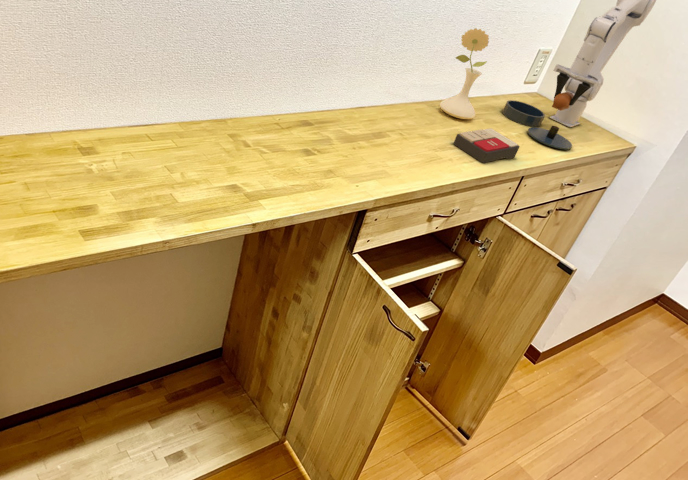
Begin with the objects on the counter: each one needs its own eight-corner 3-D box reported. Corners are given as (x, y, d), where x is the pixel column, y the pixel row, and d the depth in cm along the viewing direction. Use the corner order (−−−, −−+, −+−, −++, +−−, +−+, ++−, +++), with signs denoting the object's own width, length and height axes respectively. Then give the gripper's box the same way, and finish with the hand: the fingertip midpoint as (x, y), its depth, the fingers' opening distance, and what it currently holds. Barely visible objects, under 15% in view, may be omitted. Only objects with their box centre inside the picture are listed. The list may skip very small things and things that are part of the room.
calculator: (457, 131, 155) (491, 125, 163) (451, 145, 158) (485, 139, 166) (487, 150, 149) (521, 143, 157) (481, 165, 151) (515, 157, 159)
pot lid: (537, 127, 187) (544, 115, 184) (576, 147, 180) (584, 134, 177) (519, 133, 178) (526, 120, 175) (560, 154, 171) (567, 140, 168)
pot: (512, 108, 198) (517, 98, 196) (545, 124, 192) (551, 114, 190) (495, 112, 190) (500, 102, 188) (529, 129, 184) (535, 119, 182)
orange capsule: (558, 102, 189) (565, 88, 186) (571, 109, 187) (579, 94, 184) (548, 105, 183) (555, 91, 180) (561, 112, 181) (569, 97, 178)
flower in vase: (477, 118, 180) (513, 37, 165) (466, 125, 172) (503, 41, 157) (440, 102, 184) (472, 22, 169) (427, 109, 176) (460, 25, 161)
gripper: (559, 51, 176) (538, 93, 184) (603, 69, 169) (579, 112, 178) (567, 50, 181) (546, 91, 189) (611, 67, 174) (587, 109, 182)
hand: (563, 101), depth 184 cm, fingers closed on orange capsule, 5 cm apart
